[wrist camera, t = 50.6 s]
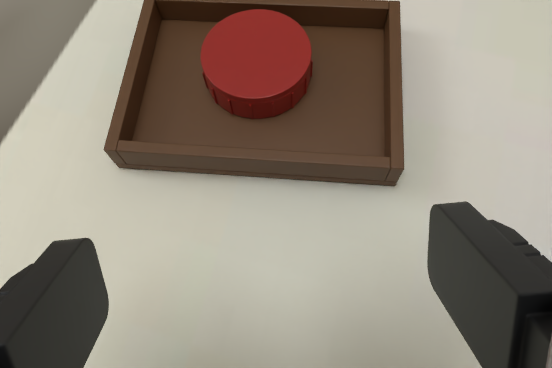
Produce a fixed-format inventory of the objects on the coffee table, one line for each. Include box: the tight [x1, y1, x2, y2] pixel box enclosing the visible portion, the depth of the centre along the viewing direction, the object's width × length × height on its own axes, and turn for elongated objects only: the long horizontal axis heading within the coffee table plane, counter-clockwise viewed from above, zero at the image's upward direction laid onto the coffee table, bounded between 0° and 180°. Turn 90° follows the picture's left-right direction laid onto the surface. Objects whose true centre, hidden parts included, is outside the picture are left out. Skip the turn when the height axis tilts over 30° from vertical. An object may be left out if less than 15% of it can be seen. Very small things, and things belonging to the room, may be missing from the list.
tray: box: [104, 0, 404, 186], centre depth 23 cm, size 14×10×2 cm
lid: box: [200, 9, 313, 119], centre depth 23 cm, size 6×6×2 cm
